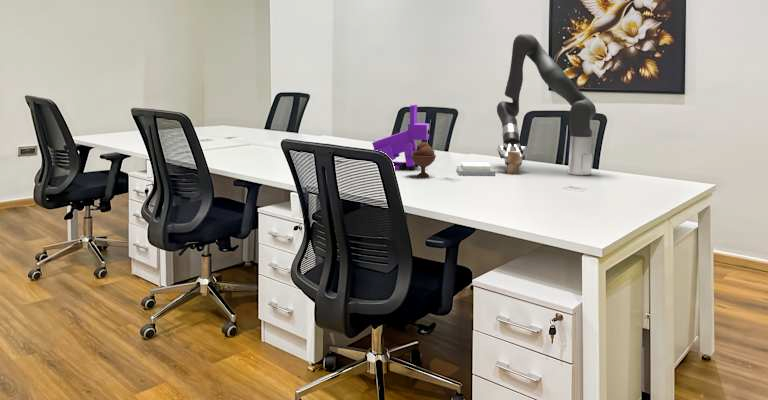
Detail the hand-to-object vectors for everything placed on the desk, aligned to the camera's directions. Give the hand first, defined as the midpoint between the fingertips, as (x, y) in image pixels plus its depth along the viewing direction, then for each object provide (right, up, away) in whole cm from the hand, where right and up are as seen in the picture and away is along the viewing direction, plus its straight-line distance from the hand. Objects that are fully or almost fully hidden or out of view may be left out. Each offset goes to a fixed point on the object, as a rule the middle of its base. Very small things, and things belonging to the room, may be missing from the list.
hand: (513, 164), depth 290 cm
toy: (-51, -1, +17) cm, 54 cm away
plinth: (-17, -4, +3) cm, 18 cm away
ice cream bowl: (-42, -6, -7) cm, 43 cm away
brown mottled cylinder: (0, -4, +3) cm, 5 cm away
